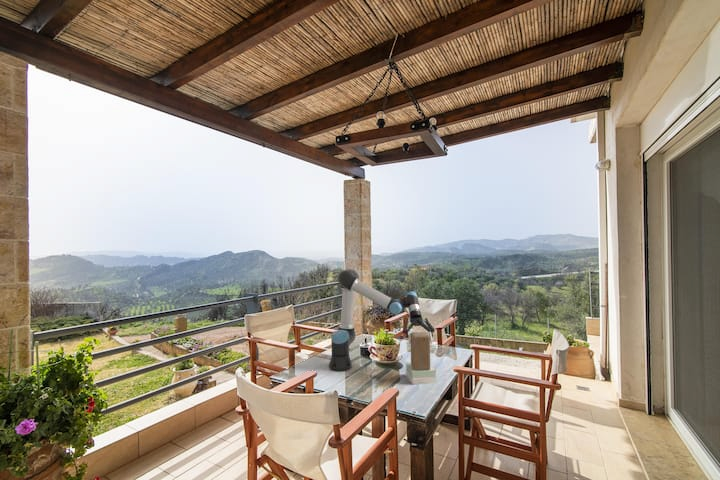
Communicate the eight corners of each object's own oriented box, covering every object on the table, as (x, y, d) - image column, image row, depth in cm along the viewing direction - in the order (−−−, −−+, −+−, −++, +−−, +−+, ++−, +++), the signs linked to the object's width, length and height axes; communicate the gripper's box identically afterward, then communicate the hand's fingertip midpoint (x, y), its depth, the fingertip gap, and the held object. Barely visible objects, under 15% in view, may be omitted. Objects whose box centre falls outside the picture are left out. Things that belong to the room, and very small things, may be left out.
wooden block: (430, 370, 190) (430, 336, 191) (413, 370, 190) (413, 336, 190) (426, 364, 200) (426, 331, 201) (410, 364, 200) (410, 331, 200)
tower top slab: (412, 378, 188) (412, 371, 188) (406, 369, 202) (406, 363, 202) (435, 377, 190) (435, 370, 190) (427, 368, 204) (427, 362, 204)
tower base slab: (412, 385, 188) (412, 378, 188) (406, 376, 202) (405, 369, 202) (436, 383, 190) (435, 377, 190) (427, 374, 204) (427, 368, 204)
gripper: (432, 315, 216) (439, 345, 201) (395, 316, 215) (399, 345, 200) (434, 309, 211) (442, 338, 196) (396, 309, 210) (401, 339, 194)
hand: (420, 342), depth 198 cm, fingers open, 13 cm apart
